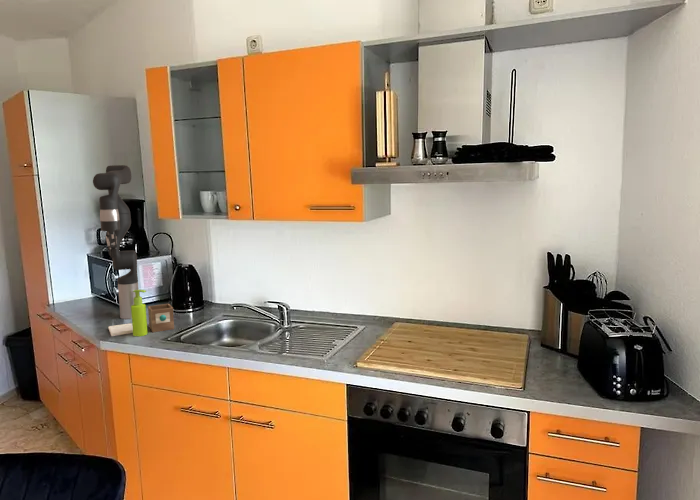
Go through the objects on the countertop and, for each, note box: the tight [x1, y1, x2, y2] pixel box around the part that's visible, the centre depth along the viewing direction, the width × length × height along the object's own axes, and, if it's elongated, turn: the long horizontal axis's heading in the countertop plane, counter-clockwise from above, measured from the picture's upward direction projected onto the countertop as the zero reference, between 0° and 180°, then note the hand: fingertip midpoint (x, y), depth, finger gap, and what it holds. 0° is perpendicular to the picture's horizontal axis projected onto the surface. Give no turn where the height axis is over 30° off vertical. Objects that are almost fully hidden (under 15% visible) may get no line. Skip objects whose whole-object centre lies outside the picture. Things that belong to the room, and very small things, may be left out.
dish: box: [108, 322, 133, 337], centre depth 226 cm, size 13×13×1 cm
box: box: [147, 303, 175, 333], centre depth 227 cm, size 10×9×10 cm
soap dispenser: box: [131, 289, 148, 337], centre depth 218 cm, size 6×7×20 cm
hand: (112, 256), depth 220 cm, fingers open, 8 cm apart
